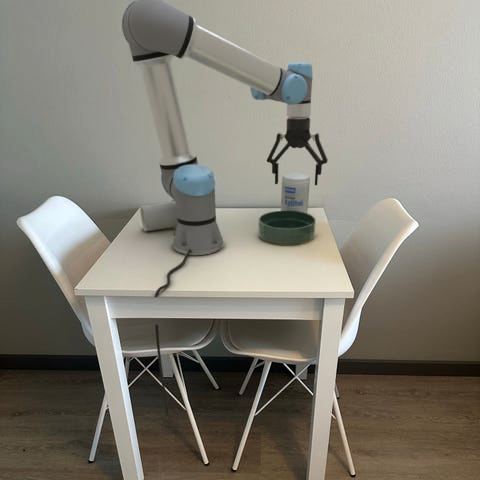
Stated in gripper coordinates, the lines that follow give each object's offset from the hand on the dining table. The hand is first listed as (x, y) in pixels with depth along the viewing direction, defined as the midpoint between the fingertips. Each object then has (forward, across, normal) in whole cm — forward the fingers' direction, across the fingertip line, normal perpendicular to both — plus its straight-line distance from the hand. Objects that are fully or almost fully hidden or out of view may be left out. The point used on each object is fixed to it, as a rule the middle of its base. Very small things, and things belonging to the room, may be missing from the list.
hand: (296, 183), depth 161 cm
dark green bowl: (+12, +1, +19) cm, 22 cm away
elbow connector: (+12, +42, +15) cm, 46 cm away
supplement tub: (+12, 0, 0) cm, 12 cm away
